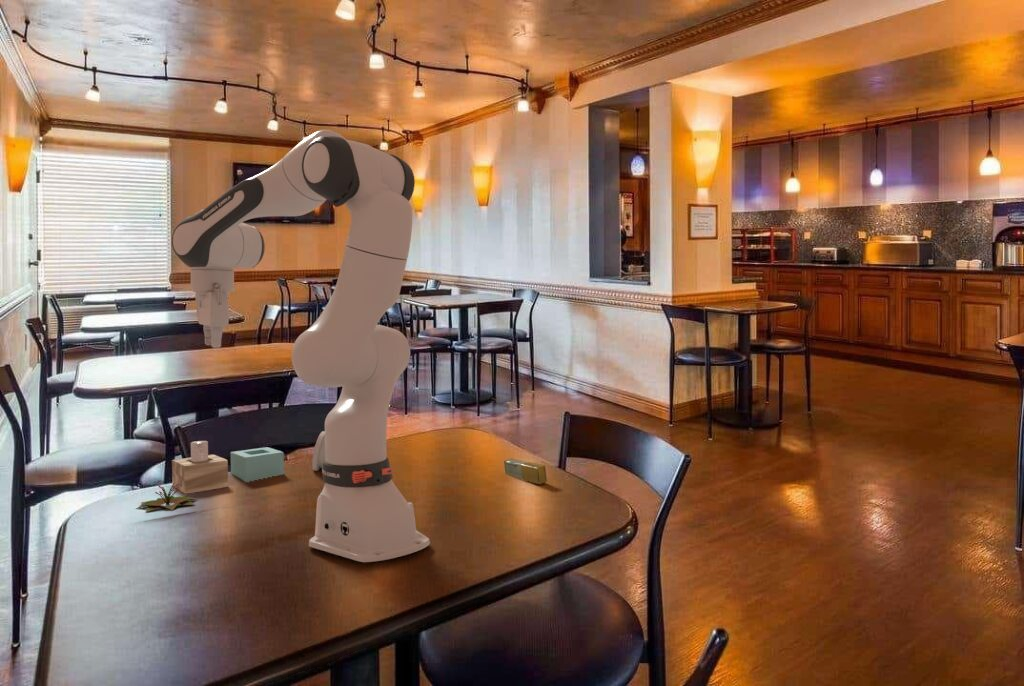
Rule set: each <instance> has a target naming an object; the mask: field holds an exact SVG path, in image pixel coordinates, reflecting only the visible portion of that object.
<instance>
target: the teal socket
mask: <svg viewBox="0 0 1024 686" xmlns="http://www.w3.org/2000/svg"><path fill="white" fill-rule="evenodd" d="M284 459H285V458H284V452H283V451H281V450H278V449H275V448H272V447H267V446H266V447H259V448H251V449H245V450H244V449H242V450H236V451H230V474H232V475H233V476H235V477H236V478H238V479H239V480H240V481H241V480H242V481H243V482H245V483H246V482H248V483H250V482H249V481H252V482H255V481H254V480H257V481H259V480H258V479H261V480H264V479H263V478H265V479H268V477H270V478H273V477H272V476H274V477H278V476H283V475H284V474H285V468H284V467H285V465H284Z"/></svg>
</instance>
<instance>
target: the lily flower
mask: <svg viewBox="0 0 1024 686" xmlns="http://www.w3.org/2000/svg"><path fill="white" fill-rule="evenodd" d="M174 483H175V482H174ZM174 483H173V482H172V485H171V487H170V489H168V490H166V489H165V487H164V486H161V485H160V484H157V487H158V488H160V489H161V490H162V491H159V492H157V491H155V492H154V493H155V494H156V495H158V496H160V497H157V499H152V500H148V501H147V500H146V501H142V502H140V503H141V505H139V506H138V507H136V508H135V509H140V508H145V507H146V509H145V512H146V513H147V512H150V511H151V512H152V511H155V510H157V508H158V506H160V507H159V508H158V509H161V506H163V509H165V508H166V509H169V510H171V511H173V510H174V509H175V508H176V507H179V506H194V505H195V506H196V504H195V503H194V502H193V501H194V500H197V498H194V497H191V496H189V495H184V496H183V495H182V496H174V495H175V494H176V493H178V492H179V490H178V489H177V490H176V491H175V489H176V488H175V487H176V486H177V485H179V484H177V485H176V486H175V485H174ZM165 486H166V488H168V486H167V485H165ZM174 486H175V487H174ZM162 492H163V493H162Z"/></svg>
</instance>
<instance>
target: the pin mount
mask: <svg viewBox="0 0 1024 686" xmlns="http://www.w3.org/2000/svg"><path fill="white" fill-rule="evenodd" d="M228 464H229V461H228V459H226V458H224V457H221V456H219V455H216V454H208V461H204V462H197V463H191V457H185V458H177V459H171V468H172V469H171V470H172V471H171V472H172V473H171V475H172V482H171V483H172V484H173V483H174V482H175V483H174V485H175V486H176V485H177V484H179V485H177V486H176V487H175V488H174V489H176V488H177V490H178V491H180V492H182V493H183V494H186V495H188V494H193V493H199V492H206V491H211V490H214V489H215V490H216V489H222V488H223V489H224V488H227V487H229V469H228V468H229V465H228Z"/></svg>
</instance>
